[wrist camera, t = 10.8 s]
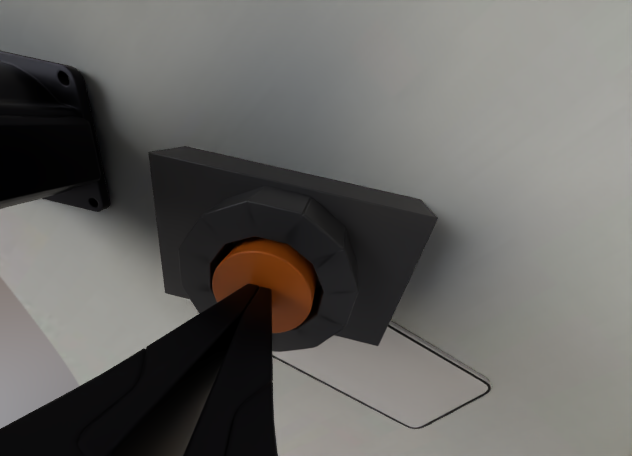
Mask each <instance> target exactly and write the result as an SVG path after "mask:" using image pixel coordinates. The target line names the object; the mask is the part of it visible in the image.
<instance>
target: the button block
mask: <svg viewBox="0 0 632 456" xmlns="http://www.w3.org/2000/svg"><path fill="white" fill-rule="evenodd" d="M149 161H150V169H151V178H152V186H153V195H154V203H155V211H156V220H157V228H158V237H159V245H160V254H161V262H162V270H163V279H164V287H165V293H167V294H171V295H175V296H179V297H183V298H187V299H190V300H191V301H192V303H193V304H194V306H195V307H196V309H197V310H198V312H199V313H202V312H203V311H205V310H206V309H208V308H210V307H211V306H213V305H214V304H216V303H218V302H217V301H216V298H215V296H214V293H213V287H212V281H213V275H214V272H215V270H216V268H217V266H218V265H219V264H220V262H221V261H222V260H223V259H224V258H225V257H226V256H227V255H228V254H229V253H230V251H231V250H232V249H233V248H234V247H235V246H236V245H237V244H238V243H239V242H240V241H241V240H243V239H246V238H250V237H254V236H256V237H260V238H264V239H268V240H272V241H276V242H281V243H285V244H288V245H290V246H291V247H292V248H293V249H295V250H296V251H297V252H298V253H300V254H301V255H302V256H303V257H304V258H306V259H307V260H308V261H309V262H311V263H312V264H313V266H314V269H315V271H316V274H317V277H318V279H317V284H316V289H315V294H314V299H313V303H312V308H311V311H310V313H309V315H308V317H307V318H306V319H305V321H304V322H303V323H301V324H300V325H299V326H297V327H296V328H294V329H292V330H289V331H286V332H281V333H272V351H274V352H285V351H293V350H301V349H309V348H314V347H317V346H319V345H320V344H322V343H323V342H325V341H326V340H328V339H329V338H331V337H332V336H333V335H335V336H339V337H343V338H347V339H350V340H354V341H358V342H362V343H366V344H370V345H374V346H379V344H380V342H381V340H382V337H383V335H384V333H385V331H386V329H387V327H388V325H389V322H390V320H391V318H392V316H393V314H394V312H395V309H396V307H397V305H398V303H399V301H400V299H401V297H402V294H403V292H404V290H405V288H406V286H407V284H408V282H409V279H410V277H411V275H412V273H413V271H414V269H415V267H416V264H417V262H418V260H419V258H420V256H421V254H422V251H423V249H424V247H425V245H426V243H427V241H428V239H429V236H430V234H431V232H432V230H433V228H434V226H435V224H436V221H437V219H438V218H437V217H436V216H435V215H434V213H433V212H432V211H431V210H430V209H429V208H428V207H427V206H426V205H425V204H424V202H423V201H422V200H420V199H416V198H411V197H407V196H402V195H398V194H394V193H389V192H385V191H380V190H376V189H372V188H367V187H363V186H358V185H354V184H350V183H345V182H341V181H336V180H332V179H327V178H323V177H319V176H314V175H310V174H305V173H301V172H297V171H292V170H288V169H283V168H279V167H275V166H270V165H266V164H261V163H257V162H252V161H248V160H244V159H239V158H235V157H230V156H226V155H222V154H217V153H213V152H208V151H204V150H200V149H195V148H191V147H186V146H184V147H178V148H171V149H165V150H158V151H152V152H149Z"/></svg>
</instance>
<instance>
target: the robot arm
mask: <svg viewBox="0 0 632 456" xmlns="http://www.w3.org/2000/svg"><path fill="white" fill-rule="evenodd" d="M68 77H69V79H68ZM69 80H70V82H69ZM41 198H42V199H46V200H50V201H55V202H59V203H63V204H67V205H71V206H75V207H79V208H84V209H88V210H92V211H98V212H99V211H102V210H105V209H107V208H109V206H110V200H109V195H108V191H107V186H106V181H105V176H104V171H103V167H102V162H101V157H100V152H99V147H98V143H97V138H96V133H95V128H94V123H93V119H92V114H91V109H90V104H89V99H88V95H87V90H86V85H85V81H84V78H83V76H82V75H81V73H80V72H79V71H78V70H77V69H76V68H74V67H72V66H68V65H63V64H59V63H54V62H49V61H45V60H40V59H36V58H31V57H27V56H22V55H17V54H13V53H8V52H4V51H0V209H1V208H5V207H9V206H13V205H17V204H21V203H25V202H29V201H33V200H37V199H41ZM272 380H273V364H272V290H271V289H270V288H266V287H259V286H258V285H254V284H246V285H245V286H243V287H242V288H240V289H238V290H237V291H235V292H234V293H232V294H230V295H229V296H227V297H226V298H224V299H222V300H221V301H219V302H218V303H216V304H214V305H213V306H211V307H210V308H208V309H206V310H205V311H203V312H202V313H200V314H198V315H197V316H195V317H194V318H192V319H190V320H189V321H187V322H186V323H184V324H182V325H181V326H179V327H177V328H176V329H174V330H173V331H171V332H169V333H168V334H166V335H165V336H163V337H161V338H160V339H158V340H157V341H155V342H153V343H152V344H150V345H149V346H147V348H146V349H142V350H140V351H139V352H137V353H136V354H134V355H132V356H131V357H129V358H128V359H126V360H124V361H123V362H121V363H119V364H118V365H116V366H114V367H113V368H111V369H109V370H108V371H106V372H104V373H103V374H101V375H99V376H97V377H95V378H94V379H92V380H90V381H88V382H86V383H85V384H83V385H81V386H79V387H77V388H76V389H74V390H72V391H70V392H68V393H66V394H65V395H63V396H61V397H59V398H57V399H55V400H54V401H52V402H50V403H48V404H46V405H44V406H42V407H40V408H39V409H37V410H35V411H33V412H31V413H29V414H27V415H25V416H24V417H22V418H20V419H18V420H16V421H14V422H12V423H10V424H9V425H7V426H5V427H3V428H1V429H0V456H278V454H277V445H276V436H275V426H274V410H273V382H272Z"/></svg>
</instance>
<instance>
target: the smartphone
mask: <svg viewBox="0 0 632 456" xmlns="http://www.w3.org/2000/svg"><path fill="white" fill-rule="evenodd" d="M394 324H395V325H394ZM272 357H273V358H275V359H277V360H279V361H281V362H283V363H285V364H287V365H289V366H291V367H292V368H294V369H296V370H298V371H300V372H302V373H304V374H306V375H308V376H310V377H312V378H313V379H315V380H317V381H319V382H321V383H323V384H325V385H327V386H329V387H331V388H333V389H335V390H336V391H338V392H340V393H342V394H344V395H346V396H348V397H350V398H352V399H354V400H356V401H358V402H359V403H361V404H363V405H365V406H367V407H369V408H371V409H373V410H375V411H377V412H379V413H380V414H382V415H384V416H386V417H388V418H390V419H392V420H394V421H396V422H398V423H400V424H402V425H403V426H405V427H408V428H411V429H420V428H424V427H426V426H428V425H430V424H432V423H433V422H435V421H437V420H439V419H441V418H443V417H445V416H447V415H449V414H451V413H453V412H454V411H456V410H458V409H460V408H462V407H464V406H466V405H468V404H470V403H472V402H474V401H475V400H477V399H479V398H481V397H483V396H485V395H486V394H488V393H489V392H490V391H491V389H492V385H491V383H490V381H489V380H488V379H487V378H486V377H485V376H483V375H481V374H480V373H478V372H476V371H475V370H473V369H471V368H470V367H468V366H466V365H465V364H463V363H461V362H459V361H458V360H456V359H454V358H453V357H451V356H449V355H448V354H446V353H444V352H443V351H441V350H439V349H438V348H436V347H434V346H433V345H431V344H429V343H428V342H426V341H424V340H423V339H421V338H419V337H418V336H416V335H414V334H413V333H412V335H411V332H409V331H408V330H406V329H404V328H403V327H401V326H399V325H397V324H396V323H394V322H393V323H392V321H391V320H390V322H389V325H388V327H387V329H386V331H385V333H384V335H383V337H382V340H381V342H380V344H379V346H374V345H370V344H366V343H362V342H358V341H354V340H350V339H347V338H343V337H339V336H335V335H333V336H332V337H331V338H329V339H328V340H326V341H325V342H323V343H322V344H320V345H319V346H317V347H314V348H309V349H301V350H293V351H285V352H274V351H272Z"/></svg>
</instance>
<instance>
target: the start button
mask: <svg viewBox="0 0 632 456" xmlns="http://www.w3.org/2000/svg"><path fill="white" fill-rule="evenodd" d="M317 279H318V277H317V274H316V271H315V269H314V266H313V264H312V263H311V262H309V261H308V260H307V259H306V258H304V257H303V256H302V255H301V254H300V253H298V252H297V251H296V250H295V249H293V248H292V247H291V246H290V245H288V244H285V243H281V242H276V241H272V240H268V239H264V238H260V237H256V236H254V237H250V238H246V239H243V240H241V241H240V242H239V243H238V244H237V245H236V246H235V247H234V248H233V249H232V250H231V251H230V253H229V254H228V255H227V256H226V257H225V258H224V259H223V260H222V261H221V262H220V264H219V265H218V266H217V268H216V270H215V272H214V275H213V281H212V287H213V293H214V296H215V298H216V301H217V302H219V301H221V300H222V299H224V298H226V297H227V296H229V295H230V294H232V293H234V292H235V291H237V290H238V289H240V288H242V287H243V286H245V285H246V284H254V285H258V286H259V287H266V288H270V289H271V290H272V333H281V332H286V331H289V330H292V329H294V328H296V327H297V326H299V325H300V324H301V323H303V322H304V321H305V319H306V318H307V317H308V315H309V313H310V311H311V308H312V303H313V299H314V294H315V289H316V284H317Z"/></svg>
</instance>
